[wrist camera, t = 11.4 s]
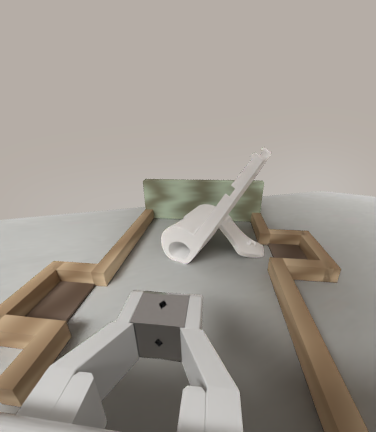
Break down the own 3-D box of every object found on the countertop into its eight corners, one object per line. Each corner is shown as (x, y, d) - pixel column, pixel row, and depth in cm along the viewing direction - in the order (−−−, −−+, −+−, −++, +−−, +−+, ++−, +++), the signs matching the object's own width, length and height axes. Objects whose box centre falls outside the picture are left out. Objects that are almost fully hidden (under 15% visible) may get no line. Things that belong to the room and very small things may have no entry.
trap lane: (-72, 391, 12) (-140, 311, 9) (122, 214, 35) (117, 178, 33) (492, 486, 8) (611, 398, 6) (288, 219, 32) (296, 181, 29)
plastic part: (193, 230, 29) (191, 143, 25) (266, 247, 25) (280, 144, 20) (162, 257, 23) (152, 149, 19) (251, 285, 19) (267, 152, 14)
